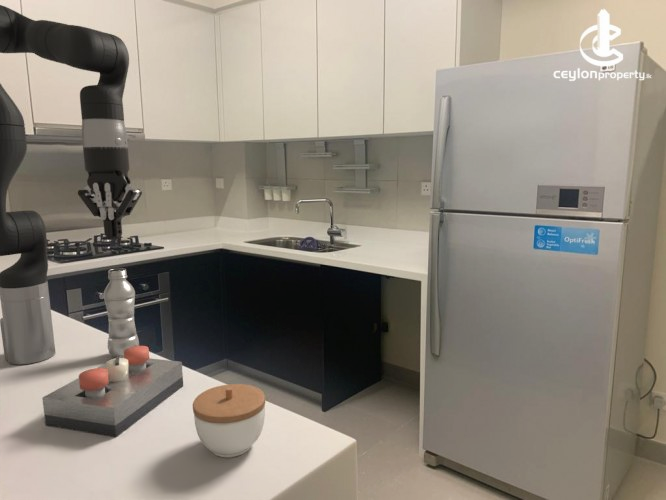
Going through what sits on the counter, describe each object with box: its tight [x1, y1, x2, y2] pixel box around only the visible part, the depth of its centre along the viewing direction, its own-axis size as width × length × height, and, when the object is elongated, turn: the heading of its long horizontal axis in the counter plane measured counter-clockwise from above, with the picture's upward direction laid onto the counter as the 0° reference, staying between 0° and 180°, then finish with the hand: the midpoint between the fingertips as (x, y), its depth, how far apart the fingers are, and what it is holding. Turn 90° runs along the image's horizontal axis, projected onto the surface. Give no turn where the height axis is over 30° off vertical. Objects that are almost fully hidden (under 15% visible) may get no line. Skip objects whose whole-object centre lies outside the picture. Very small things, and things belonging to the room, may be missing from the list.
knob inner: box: [124, 345, 150, 372], centre depth 93 cm, size 4×4×6 cm
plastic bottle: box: [103, 268, 140, 358], centre depth 110 cm, size 6×7×20 cm
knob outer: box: [78, 367, 109, 399], centre depth 82 cm, size 4×4×6 cm
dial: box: [106, 357, 128, 382], centre depth 87 cm, size 4×4×4 cm
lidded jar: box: [192, 383, 266, 458], centre depth 74 cm, size 11×11×9 cm
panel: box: [42, 355, 184, 438], centre depth 88 cm, size 14×19×5 cm
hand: (113, 239), depth 93 cm, fingers closed
